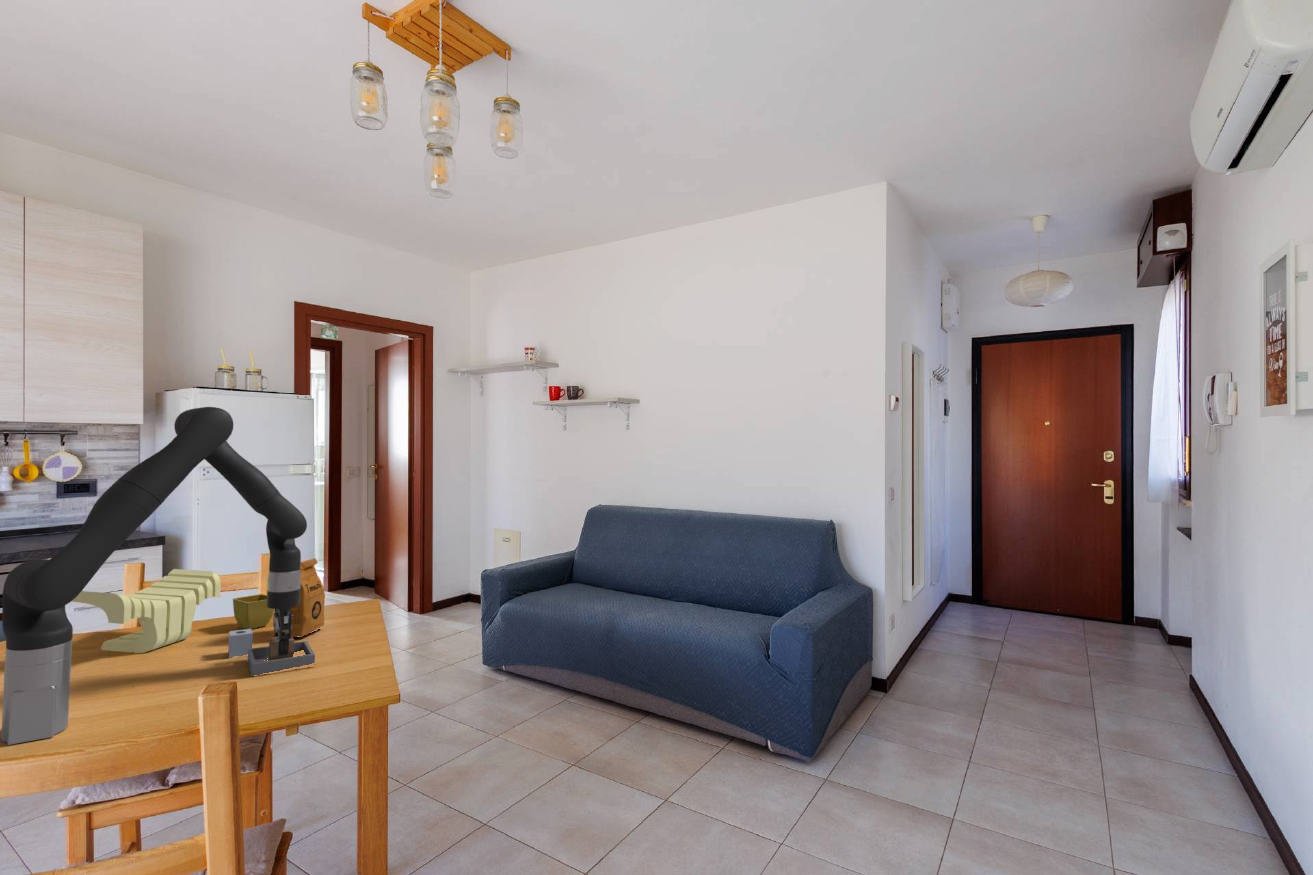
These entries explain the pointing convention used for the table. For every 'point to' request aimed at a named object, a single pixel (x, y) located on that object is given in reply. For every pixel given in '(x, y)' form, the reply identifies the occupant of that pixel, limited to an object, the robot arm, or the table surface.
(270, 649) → the walnut block
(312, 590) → the coffee package
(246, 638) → the slate block
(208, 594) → the slatted curved stool
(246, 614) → the flower pot
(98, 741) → the table surface
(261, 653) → the tray
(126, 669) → the table surface
